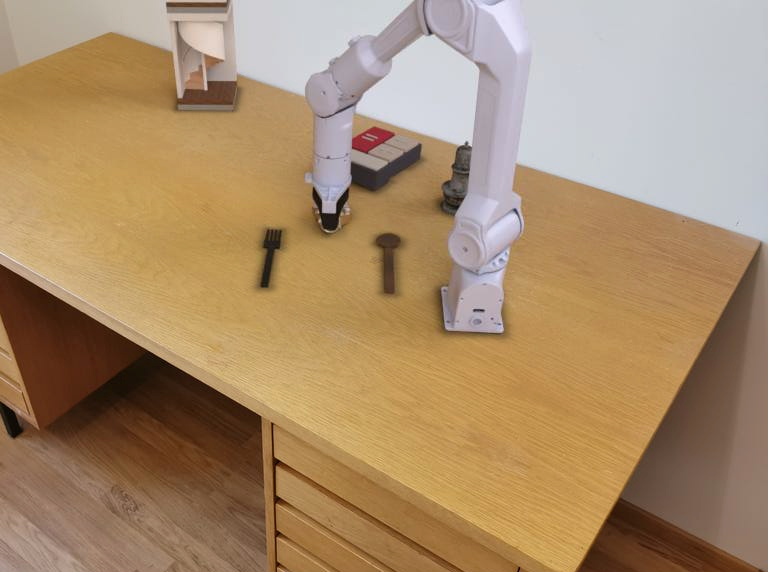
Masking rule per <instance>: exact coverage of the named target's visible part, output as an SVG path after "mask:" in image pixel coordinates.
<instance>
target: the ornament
mask: <svg viewBox="0 0 768 572" xmlns="http://www.w3.org/2000/svg"><path fill="white" fill-rule="evenodd" d="M311 213H312V215H313V216H314V217H315V219H317V220H318V227H320V228H321V230H322V231H323V232H324V233H326V234H334V233H336V232H338V230H341V229H342V226H344V225H346V224H348V223H350V222H351V221H352V218H353V217H352V216H353V210H352V206H351V204H349V203H348V201H347V202H346V203H345V205H344V206H343V208H342V210H341V213H340V217H339V221H338V225H337V228H336V229H335V230H331V229H323V227H322V223H321V218H320V213H319V209H318V207H317V205H316V203H315V202H313V204H312V205H311Z"/></svg>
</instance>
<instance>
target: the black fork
mask: <svg viewBox="0 0 768 572" xmlns="http://www.w3.org/2000/svg"><path fill="white" fill-rule="evenodd" d="M282 233H283V230H282V229H269V228H267V230H266V234H265V239H264V241H263V245H262V246H263V247H262V248H263V249H267V250H266V255H265V261H264V266H263V271H262V277H261V281H260V288H265V289H267V288H269V285H270V278H271V274H272V269H273V262H274V255H275V250H280V248H281V245H282V244H281V239H282Z"/></svg>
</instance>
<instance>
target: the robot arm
mask: <svg viewBox="0 0 768 572" xmlns="http://www.w3.org/2000/svg"><path fill="white" fill-rule="evenodd" d="M522 2H523V0H413V1H412V2H411V3H409V5H407V7H405V8H404V10H402V11H401V13H399V14H398V15H397V16H396V17H395V18H394V19H393V20H392V21H391V22H390V23H389V24H388V25H387V26H386V27H385V28H384V29H383V30H382V31H381V32H379V34H378V35H377V36H376V35H371V34H366V35H357V36H355V37H352V38H351V39H350V40H349V41H348V42H347V45H348V48H347V50H345V51H344V52H343V53H342V54H340V56H335V57H332V59H330V60H329V61H328V65H329V66H328V67H327V68H326V70H323V71H321V72H315V73H312V74H311V75H310V77H309V79H308V80H306V83H305V86H304V95H305V101H306V103H307V105H308V107H309V108H310V110H311V111H312V112H313V113H312V114H313V115H312V116H313V119H312V126H313V127H312V172H305V174H304V182H305V183H306V184H311V185H312V186H313V187H312V190H311V194H312V195H311V197H312V200H313V203H316V205H317V207H318V209H319V213H320V218H321V223H322V227H323V229H331V230H335V229H336V228H337V225H338V221H339V217H340V213H341V210H342V208H343V206H344V205H345V203H346V202H347V203H348V201H349V198H350V185H351V184H352V182H351V174H350V170H351V152H352V138H353V128H354V116H355V114H357V105H358V104H359V103H360V102H361V100H362V99H363V96H364V94H365V93H366V92H367V91H369V90H370V89H371V88H372V87H373V86H375V85H376V84H378V83H379V82H380V81H382V80H383V79H384V78H386V77H387V76H388V75H389V74H390V73H391V71H392V69H393V68H392V67H393V58H395V57H396V56H397V55H399V54H400V53H401V52H402V51H404V50H405V49H406V48H408V47H409V46H410V45H412V44H414V43H415V42H416V41H417V40H419V39H420V38H422V37H423V36H425V37H430V36H433V35H434V36H435V37H436V38H437V39H439V40H440V41H441V42H443V43H444V44H446V45H447V46H449V48H452V50H455V51H456V52H458V53H459V54H460V55H462V56H463V57H464V58H466V59H467V60H469V62H473V64H475V66H476V67H477V68H478V69H479V70H478V71H479V74H478V83H477V91H476V92H477V93H476V94H477V95H476V101H475V102H476V103H475V112H474V113H475V114H474V122H473V123H474V124H473V132H472V142H471V147H472V152H471V161H470V171H469V181H468V191H467V195H466V197H465V198H464V200H463V202H462V204H461V205H460V207H459V209H458V211H457V212H456V214H455V215H454V222H453V226H452V228H450V231H449V232H448V233H447V235H446V241H445V246H446V250H447V252H448V255H449V257H450V258H451V262H452V263H451V268H450V273H449V280H448V286H442V287H441V288H440V294H441V304H442V305H441V306H442V314H443V315H442V316H443V325H444V330H446V331H447V332H449V331H452V332H472V333H490V334H493V333H494V334H502V333H503V332H504V330H505V328H504V323H503V319H502V318H503V317H502V308H503V304H504V300H505V293H504V286H503V284H504V281H505V277H506V271H507V267H508V264H509V263H508V262H509V259H510V251H511V247H512V243H515V242H516V241H517V240H519V239H520V238H521V237H522V235H523V234H524V229H525V221H524V217H523V214H522V210H521V207H522V205H521V204H522V197H521V195H519V194H518V193H517V192H515V191H514V190H513V186H514V178H515V172H516V166H517V159H518V152H519V144H520V137H521V130H522V125H523V124H522V123H523V118H524V109H525V103H526V96H527V90H528V89H527V88H528V83H529V75H530V68H531V61H532V55H533V53H532V52H533V51H532V49H533V48H532V47H533V46H532V42H531V38H530V34H529V30H528V27H527V22H526V19H525V15H524V11H523V7H522V4H523V3H522Z"/></svg>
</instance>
